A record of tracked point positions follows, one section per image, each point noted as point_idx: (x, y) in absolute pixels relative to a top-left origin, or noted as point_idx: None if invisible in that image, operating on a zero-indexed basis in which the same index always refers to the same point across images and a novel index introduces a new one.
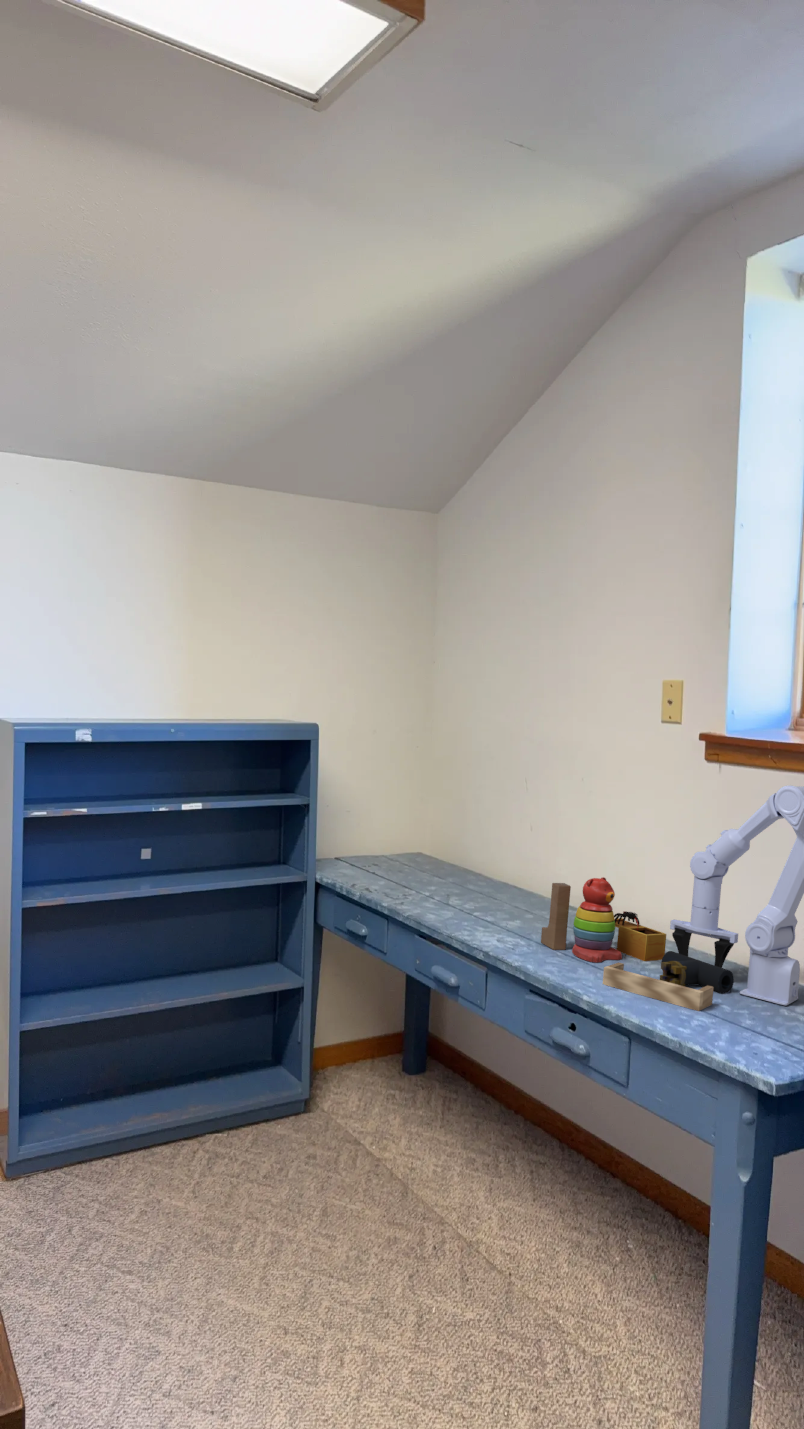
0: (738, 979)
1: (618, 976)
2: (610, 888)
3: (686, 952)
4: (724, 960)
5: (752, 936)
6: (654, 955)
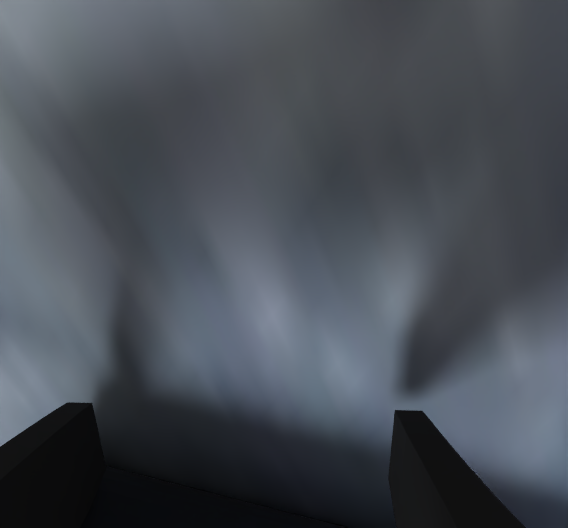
0: (531, 190)
1: None
2: None
3: (11, 523)
4: (507, 516)
5: None
6: None
